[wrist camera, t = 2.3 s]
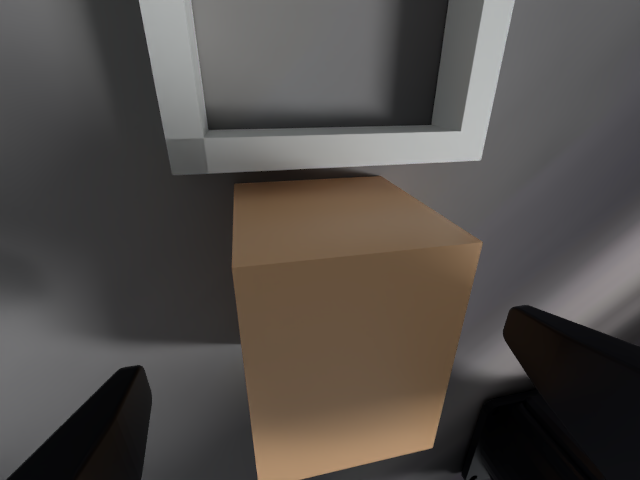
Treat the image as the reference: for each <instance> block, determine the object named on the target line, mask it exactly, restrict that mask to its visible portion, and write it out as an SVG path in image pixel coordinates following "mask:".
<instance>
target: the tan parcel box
mask: <svg viewBox="0 0 640 480" xmlns="http://www.w3.org/2000/svg"><path fill="white" fill-rule="evenodd" d="M482 244H483V242H482V241H480V240H479V239H477V238H476V237H474V236H472V235H471V234H469V233H468V232H466V231H465V230H463V229H462V228H460V227H459V226H457V225H456V224H454V223H452V222H451V221H449V220H448V219H446V218H445V217H443V216H442V215H440V214H439V213H437V212H435V211H434V210H432V209H431V208H429V207H428V206H426V205H425V204H423V203H422V202H420V201H418V200H417V199H415V198H414V197H412V196H411V195H409V194H408V193H406V192H405V191H403V190H401V189H400V188H398V187H397V186H395V185H394V184H392V183H391V182H389V181H388V180H386V179H384V178H383V177H381V176H370V177H351V178H332V179H314V180H295V181H276V182H257V183H238V184H234V209H233V243H232V274H233V282H234V290H235V298H236V306H237V314H238V322H239V330H240V339H241V347H242V355H243V363H244V371H245V379H246V387H247V395H248V403H249V411H250V419H251V428H252V436H253V444H254V452H255V460H256V468H257V476H258V480H301V479H305V478H309V477H313V476H317V475H322V474H326V473H330V472H334V471H338V470H343V469H347V468H351V467H355V466H359V465H363V464H368V463H372V462H376V461H380V460H384V459H389V458H393V457H397V456H401V455H405V454H409V453H414V452H418V451H422V450H426V449H430V448H433V445H434V440H435V436H436V432H437V428H438V424H439V420H440V416H441V412H442V408H443V404H444V399H445V395H446V391H447V387H448V383H449V379H450V375H451V371H452V367H453V363H454V358H455V354H456V350H457V346H458V342H459V338H460V334H461V330H462V326H463V322H464V318H465V313H466V309H467V305H468V301H469V297H470V293H471V289H472V285H473V281H474V277H475V272H476V268H477V264H478V260H479V256H480V252H481V248H482Z"/></svg>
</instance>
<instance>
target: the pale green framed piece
mask: <svg viewBox="0 0 640 480" xmlns="http://www.w3.org/2000/svg"><path fill="white" fill-rule="evenodd" d="M514 2H515V0H449V3H448V10H447V17H446V24H445V31H444V38H443V45H442V53H441V60H440V67H439V74H438V81H437V88H436V95H435V102H434V109H433V116H432V123H431V125H409V126H365V127H320V128H275V129H230V130H208V123H207V116H206V108H205V101H204V93H203V86H202V78H201V71H200V63H199V56H198V48H197V41H196V33H195V26H194V18H193V11H192V4H191V0H139V4H140V9H141V14H142V19H143V25H144V30H145V35H146V40H147V46H148V51H149V56H150V62H151V67H152V72H153V77H154V83H155V88H156V93H157V98H158V104H159V109H160V114H161V120H162V125H163V130H164V135H165V141H166V146H167V151H168V156H169V162H170V167H171V172H172V175H190V174H211V173H232V172H252V171H273V170H294V169H314V168H335V167H356V166H376V165H397V164H418V163H438V162H459V161H480V160H481V157H482V153H483V148H484V143H485V138H486V134H487V129H488V124H489V120H490V115H491V110H492V105H493V101H494V96H495V91H496V87H497V82H498V77H499V72H500V68H501V63H502V58H503V54H504V49H505V44H506V39H507V35H508V30H509V25H510V21H511V16H512V11H513V6H514Z"/></svg>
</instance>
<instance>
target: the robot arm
mask: <svg viewBox="0 0 640 480" xmlns="http://www.w3.org/2000/svg"><path fill="white" fill-rule="evenodd" d="M503 337H504V339H505V341H506V343H507V344H508V346H509V348H510V349H511V351H512V352H513V354H514V355H515V357H516V358H517V360H518V361H519V363H520V364H521V366H522V367H523V369H524V371H525V372H526V374H527V375H528V377H529V378H530V380H531V381H532V383H533V384H534V386H535V387H536V389H537V390H533V391H528V392H524V393H519V394H515V395H510V396H506V397H501V398H496V399H492V400H489V401H488V402H486V403H485V404H484V405H483V407H482V409H481V413H480V416H479V419H478V422H477V425H476V429H475V432H474V435H473V438H472V441H471V444H470V448H469V451H468V454H467V457H466V460H465V464H464V467H463V470H462V477H463V478H464V480H486V479H489V478H491V480H640V347H639V346H637V345H634V344H631V343H629V342H626V341H623V340H621V339H618V338H615V337H612V336H610V335H607V334H604V333H602V332H599V331H596V330H594V329H591V328H588V327H585V326H583V325H580V324H577V323H575V322H572V321H569V320H567V319H564V318H561V317H558V316H556V315H553V314H550V313H548V312H545V311H542V310H540V309H537V308H534V307H531V306H528V305H522V306H516V307H512V308H511V309H510V310H509V313H508V316H507V319H506V323H505V326H504V329H503ZM151 406H152V393H151V389H150V386H149V383H148V380H147V376H146V373H145V370H144V368H143V367H142V366H140V365H136V366H130V367H124V368H121V369H119V370H118V371H116V372H115V373H114V374H113V375H112V376H111V377H110V378H109V379H108V380H107V381H106V382H105V383H104V384H103V385H102V386H101V387H100V388H99V389H98V390H97V391H96V392H95V393H94V394H93V395H92V396H91V397H90V398H89V399H88V400H87V401H86V402H85V403H84V404H83V405H82V406H81V407H80V408H79V409H78V410H77V411H76V412H75V413H74V414H73V415H72V416H71V417H70V418H69V419H68V420H67V421H66V422H65V423H64V424H63V425H62V426H60V427H59V428H58V429H57V430H56V431H55V432H54V433H53V434H52V435H51V436H50V437H49V438H48V439H47V440H46V441H45V442H44V443H43V444H42V445H41V446H40V447H39V448H38V449H37V450H36V451H35V452H34V453H33V454H32V455H31V456H30V457H29V458H28V459H27V460H26V461H25V462H24V463H23V464H22V465H21V466H20V467H19V468H18V469H17V470H16V471H15V472H14V473H13V474H12V475H11V476H10V477H9V478H8V479H7V480H141V477H142V471H143V464H144V457H145V449H146V442H147V435H148V427H149V420H150V413H151Z"/></svg>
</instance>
